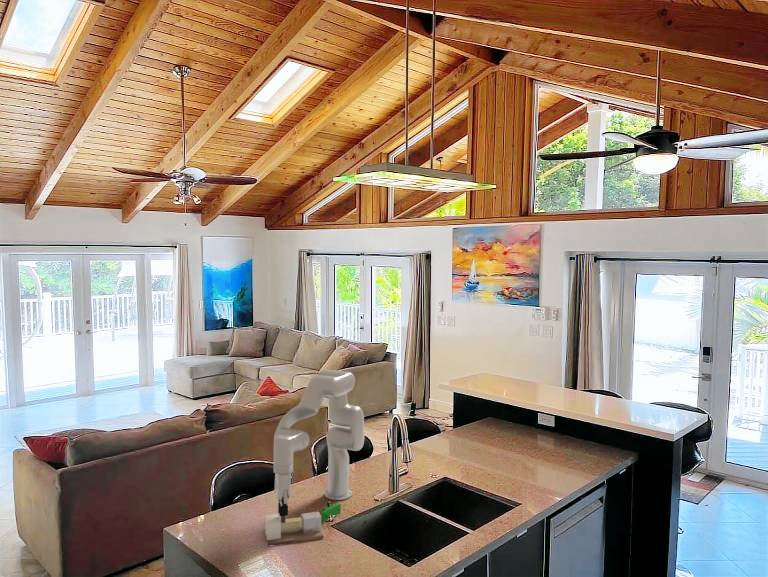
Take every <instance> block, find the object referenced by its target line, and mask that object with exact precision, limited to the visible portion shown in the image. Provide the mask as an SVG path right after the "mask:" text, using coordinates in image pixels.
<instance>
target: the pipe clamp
mask: <svg viewBox="0 0 768 577" xmlns="http://www.w3.org/2000/svg"><path fill="white" fill-rule="evenodd" d="M328 504H329V507H321V508H320V509H321V513H320V515H321V523H322V522H325V521H326V520H327V519H328V518H329V517H330V515H337V514H339V515H341V508H342V507H341V506H342V505H341V503H340V502H338V503H336V504H331V503H328ZM337 516H338V515H337ZM326 522H327V521H326ZM326 522H325V523H326Z"/></svg>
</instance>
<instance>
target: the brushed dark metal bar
mask: <svg viewBox="0 0 768 577" xmlns="http://www.w3.org/2000/svg"><path fill="white" fill-rule="evenodd" d="M282 501H284V500H282ZM280 521H281V531H283V530H291V529H298V528H303V518H302V517H301V516H300V517H292V518H286V516H280Z"/></svg>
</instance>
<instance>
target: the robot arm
mask: <svg viewBox="0 0 768 577" xmlns="http://www.w3.org/2000/svg"><path fill="white" fill-rule="evenodd" d="M355 384H356V377H355V375H354V373H352V372H350V371H343V370H335V369H321V370H320V371H319V372H318V373H317V375H315V376H313V377H311V378H310V379H309V382H308V384H307V386H306V388H305V390H304V393H303V395H302V397H301V399H300V401H299V403H298V404H297V405H295V407H293V408H291V409H290V410H289V411H288V412H286V413H285V414H284V415H283V416H282V417H281V419H280V420H279V422H278V425H277V427H276V429H275V432H274V435H273V474H275V475H274V494H275V497H276V500H277V501H278V504H277V505H278V507H277V510H278V513H277V514H278V515H279V517H281V516H285V517H286V516H288V515H289V504H288V503H289V500H290V499H291V494H292V492H291V491H292V488H291V487H292V486H291V485H292V482H291V479H292V478H291V476H292V475H291V474H292V473H293V472H294V453H295V452H299V451H303V450H305V449H306V448H307V447H308V446H309V444H310V441H311V440H310V439H311V438H310V435H309V434H308V433H307V431H304V430H298V429H294V428H291V427H292V426H294V424H295V423H298V422H299V421H302V420H305V419H307V418H310V417H314V416H315V415H317V414H318V413H319V411H320V409H321V406H322V404H323V402H324V399H325V397H328V416H329V421H330V423H332V424H333V425H334V426H332V427H330V428H328V429H327V432H326V436H325V438H326V444H327V452H328V455H327V457H328V458H327V459H328V462H327V464H328V465H327V466H328V467H327V473H328V474H327V489H326V490H325V491H324V497H325V498H326V499H329V500H333V501H342V500H347V499H349V498H351V497H352V495H353V491H352V490H351V489H350V488H349V487H350V486H349V485H350V484H349V481H350V479H349V478H350V455H349V453H348V450H349V451H355V452H357V451H360V450H362V448H363V447H364V444H365V414H364V411H363V409H362V408H361V407H360V406H359V405H353V404H349V401H348V393H350V392H351V391H352V390H353V389H354V387H355ZM335 425H336V426H335ZM282 500H284V501H282Z"/></svg>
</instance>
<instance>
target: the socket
mask: <svg viewBox="0 0 768 577" xmlns="http://www.w3.org/2000/svg"><path fill="white" fill-rule="evenodd" d="M280 520H281V517H280V515H279V513H275V514H268V515H266V514H265V516H264V524H265V525H264V529H265V533H266V536H265V538H266V537H267V540H273V539H280V538H281V521H280ZM265 533H264V534H265ZM267 540H266V541H267Z"/></svg>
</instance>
